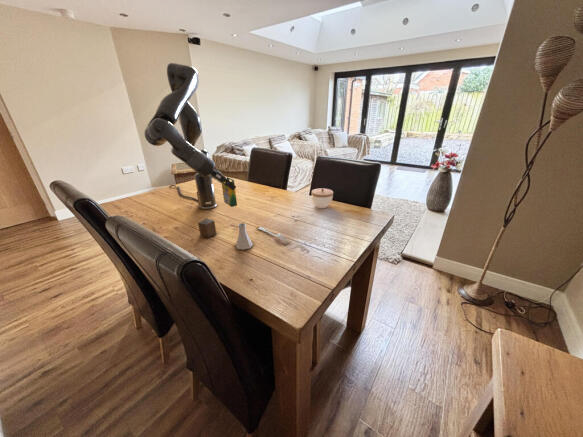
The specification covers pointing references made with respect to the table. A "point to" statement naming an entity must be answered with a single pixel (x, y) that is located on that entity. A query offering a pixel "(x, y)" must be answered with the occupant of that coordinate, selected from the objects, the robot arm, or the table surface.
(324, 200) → the lidded bowl
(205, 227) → the walnut block
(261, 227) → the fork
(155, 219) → the table surface
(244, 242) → the flask
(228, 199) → the crayon box
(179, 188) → the robot arm
